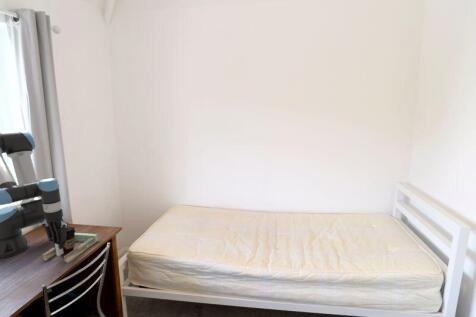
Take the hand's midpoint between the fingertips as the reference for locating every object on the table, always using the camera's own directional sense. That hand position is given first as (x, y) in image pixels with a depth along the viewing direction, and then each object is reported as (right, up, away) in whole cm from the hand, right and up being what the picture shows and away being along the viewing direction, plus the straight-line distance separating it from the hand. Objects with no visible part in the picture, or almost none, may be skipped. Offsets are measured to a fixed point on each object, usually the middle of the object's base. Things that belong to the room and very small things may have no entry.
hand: (60, 254), depth 137 cm
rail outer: (+7, -1, +6) cm, 9 cm away
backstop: (+3, +1, +18) cm, 18 cm away
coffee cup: (+1, -1, +5) cm, 5 cm away
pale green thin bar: (-5, -1, +8) cm, 10 cm away
